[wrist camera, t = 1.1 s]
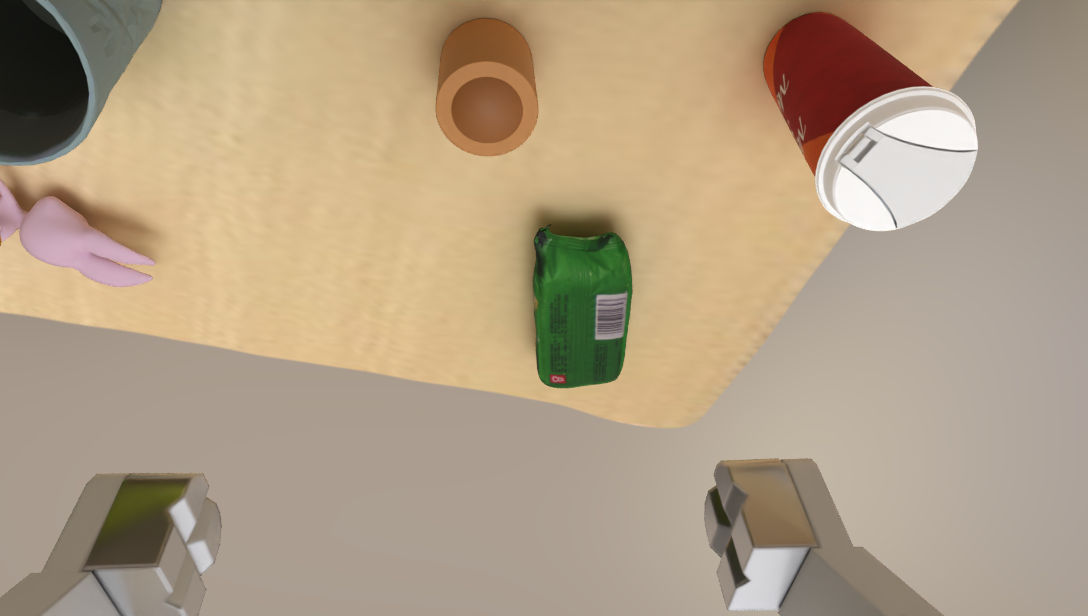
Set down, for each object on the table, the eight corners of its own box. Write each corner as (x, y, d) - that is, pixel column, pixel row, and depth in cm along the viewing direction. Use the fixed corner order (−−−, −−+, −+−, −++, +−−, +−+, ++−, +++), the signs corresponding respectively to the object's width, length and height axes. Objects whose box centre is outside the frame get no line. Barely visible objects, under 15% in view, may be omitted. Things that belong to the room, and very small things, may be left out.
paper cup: (721, 82, 46) (791, 205, 35) (803, -32, 42) (911, 70, 31) (812, 133, 49) (902, 260, 38) (898, 31, 44) (1026, 143, 34)
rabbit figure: (-61, 198, 49) (159, 289, 53) (-134, 244, 45) (113, 341, 48) (-64, 121, 46) (173, 224, 49) (-143, 163, 41) (125, 274, 44)
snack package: (629, 203, 52) (641, 247, 48) (616, 358, 62) (624, 405, 58) (530, 207, 51) (533, 251, 47) (533, 362, 62) (536, 408, 58)
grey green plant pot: (105, -161, 35) (-23, -102, 26) (216, 37, 42) (144, 138, 33) (-75, -102, 37) (-256, -26, 28) (61, 82, 43) (-49, 191, 34)
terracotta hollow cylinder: (438, 16, 42) (432, 66, 37) (534, 19, 43) (541, 68, 37) (442, 106, 46) (437, 163, 41) (530, 108, 46) (536, 164, 41)
